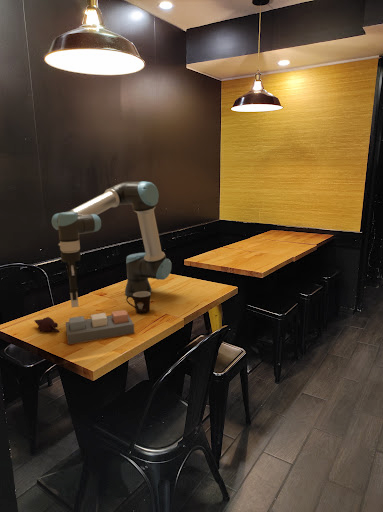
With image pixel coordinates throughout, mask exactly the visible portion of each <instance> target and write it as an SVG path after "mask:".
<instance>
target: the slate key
mask: <svg viewBox="0 0 383 512" xmlns="http://www.w3.org/2000/svg"><path fill="white" fill-rule="evenodd" d="M85 319H86V318H85V316H84V315H81V316H74V317H69V318H68V322H69V323H70V331H73V330H80V329H86V327H85Z"/></svg>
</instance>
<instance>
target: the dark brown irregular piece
mask: <svg viewBox="0 0 383 512" xmlns="http://www.w3.org/2000/svg"><path fill="white" fill-rule="evenodd" d="M33 321H34V323H36V325H37V326H38V327H37V329H38V331H39V332H43V333H50V332H53V333H55V334H59V333H60V330H59V329H58V326H59V324H58V322H55V321H54V319H53V318H51V317H49V316H45V317H43V318H41V319H40V318H39V319H35V320H33Z"/></svg>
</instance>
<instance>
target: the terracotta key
mask: <svg viewBox="0 0 383 512" xmlns="http://www.w3.org/2000/svg"><path fill="white" fill-rule="evenodd" d="M111 315H112V321H113V323H114V324H117V323H123V322H128V315H129V314H128V312H127V311H126V309H123V310H115V311H111Z"/></svg>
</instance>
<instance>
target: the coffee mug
mask: <svg viewBox="0 0 383 512" xmlns="http://www.w3.org/2000/svg"><path fill="white" fill-rule="evenodd" d="M151 295H152V293H150V292H146V291H141V292H136V293H134V294H133V297H132V296H127V297H126V301H125V302H127V303H128V305H130V306H131V307H133V308H134V309H135V312H136V314H138V315H144V314H145V315H146V314H148V313H150V309H151V298H152V297H151ZM129 298H132V300H133V302H134V303H133V304H134V305H133V304H132V303H131V302H129V300H128V299H129Z"/></svg>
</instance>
